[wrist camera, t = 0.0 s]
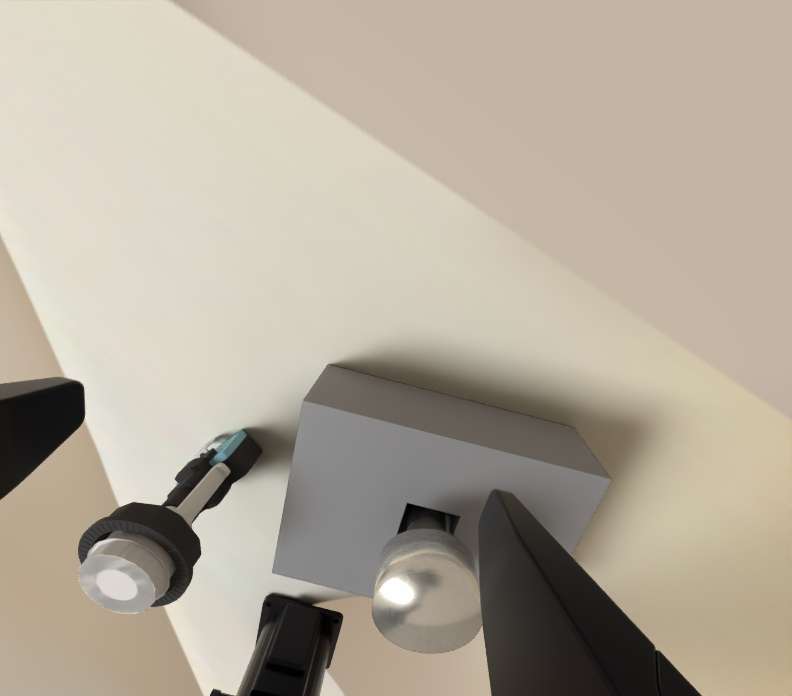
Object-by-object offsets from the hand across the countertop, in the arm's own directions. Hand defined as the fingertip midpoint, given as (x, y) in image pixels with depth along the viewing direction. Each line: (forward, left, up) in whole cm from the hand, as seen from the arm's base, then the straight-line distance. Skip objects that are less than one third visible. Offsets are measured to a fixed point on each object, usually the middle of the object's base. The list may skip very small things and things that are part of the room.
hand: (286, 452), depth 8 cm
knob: (-10, -6, -13) cm, 17 cm away
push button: (-13, +8, -15) cm, 22 cm away
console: (-10, -6, -15) cm, 19 cm away
